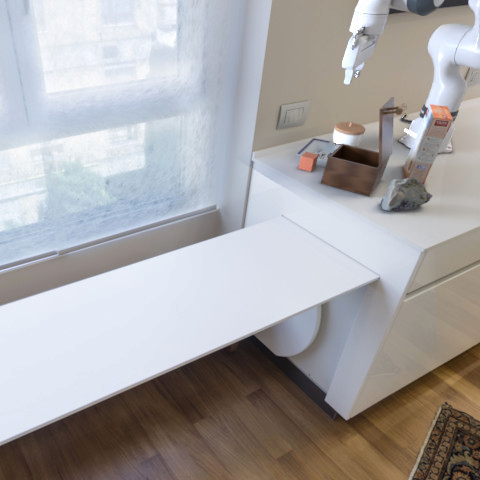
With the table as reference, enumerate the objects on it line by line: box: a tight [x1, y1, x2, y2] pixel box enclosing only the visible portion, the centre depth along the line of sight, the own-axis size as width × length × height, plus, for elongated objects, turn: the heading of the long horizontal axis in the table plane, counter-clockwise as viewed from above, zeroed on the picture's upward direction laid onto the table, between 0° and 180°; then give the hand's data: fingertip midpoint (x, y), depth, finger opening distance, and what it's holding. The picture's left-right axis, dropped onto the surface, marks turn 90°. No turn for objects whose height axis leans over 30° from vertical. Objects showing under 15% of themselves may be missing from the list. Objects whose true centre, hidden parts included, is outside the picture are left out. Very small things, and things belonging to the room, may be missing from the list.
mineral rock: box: [380, 176, 433, 212], centre depth 129 cm, size 13×11×10 cm
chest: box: [320, 144, 391, 197], centre depth 142 cm, size 16×14×9 cm
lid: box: [378, 96, 408, 168], centre depth 130 cm, size 17×14×5 cm
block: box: [298, 151, 319, 173], centre depth 151 cm, size 4×4×4 cm
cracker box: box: [403, 104, 454, 185], centre depth 143 cm, size 14×6×21 cm, turn 160°
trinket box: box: [332, 121, 366, 147], centre depth 164 cm, size 11×11×9 cm
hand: (351, 80), depth 130 cm, fingers open, 8 cm apart
